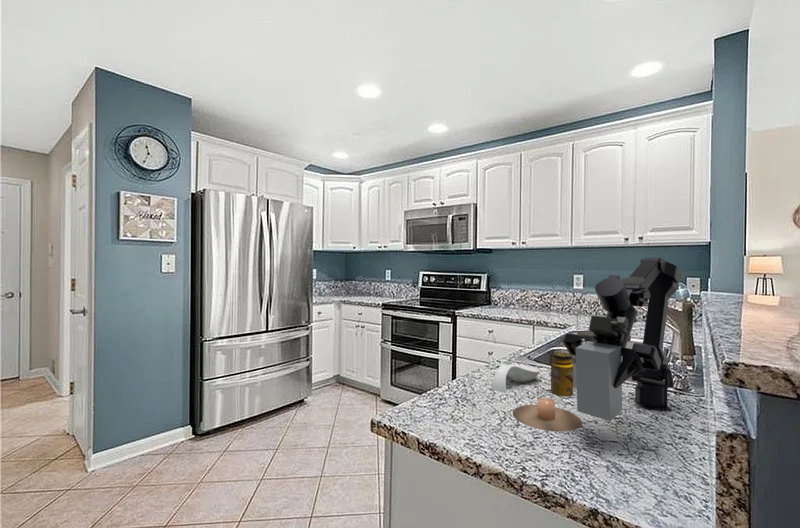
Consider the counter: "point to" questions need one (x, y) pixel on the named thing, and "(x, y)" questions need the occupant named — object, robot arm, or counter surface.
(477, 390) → the counter surface
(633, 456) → the counter surface
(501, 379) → the white curved piece
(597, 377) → the grey tall block
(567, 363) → the condiment
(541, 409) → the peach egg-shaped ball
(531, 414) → the plate
